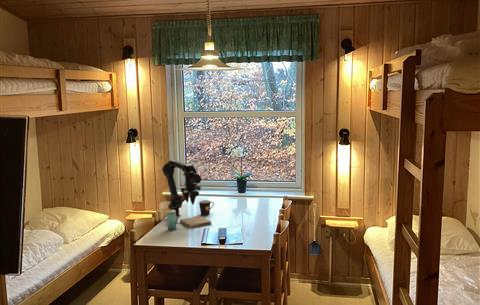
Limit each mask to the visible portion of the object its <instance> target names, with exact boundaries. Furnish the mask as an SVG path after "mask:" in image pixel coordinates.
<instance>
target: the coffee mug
mask: <svg viewBox="0 0 480 305" xmlns="http://www.w3.org/2000/svg"><path fill="white" fill-rule="evenodd" d="M198 204H199V210H200V216H202V217H205V216H209V215H211V214H210V211H211V209H212V208H213V207H214V205H215V203H214V201H211V200H207V199H204V200H199V201H198ZM211 204H212V206H211Z"/></svg>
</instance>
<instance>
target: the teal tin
mask: <svg viewBox="0 0 480 305" xmlns="http://www.w3.org/2000/svg"><path fill="white" fill-rule="evenodd" d="M165 213H166V225H167V226H166V227H167V231H169V232H170V231H171V232H174V231H177V224H176V210H171V209H167V210H166V212H165Z"/></svg>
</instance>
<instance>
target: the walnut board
mask: <svg viewBox="0 0 480 305" xmlns="http://www.w3.org/2000/svg"><path fill="white" fill-rule="evenodd" d="M179 223H181V224H182V225H184V226H185V227H188V228H189V229H194V228H200V227H205V226H210V225H212V221H211V220H209V219H207V218H205V217H204V216H203V215H198V216H193V217H186V218H180V220H179Z"/></svg>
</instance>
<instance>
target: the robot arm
mask: <svg viewBox="0 0 480 305" xmlns="http://www.w3.org/2000/svg"><path fill="white" fill-rule="evenodd" d="M176 168H177V169H180V170H181V171H182V172H183V173H182V174H183V176H184V183H183V184H184V186H185V187H181V188H180V192H181V194H182V195H180V194H178V189H177V186H176V181H175V178H174V174H175V169H176ZM161 170H162V171H161V172H163V175H164V176H165V177H166V180H167V184H168V189H169V192H170V199H169V201H170V202H169V204H168V205H167V208H168V210H176V216H177V218H179V216H180V217H181V216H182V215H180V208H182V207H183V199H182V196H183V197H184V199H185V201H186V203H189V199H190V202H191V204H192V205H195V201H196V198H197V197H198V196H200V191H202V190H201V189H202V186H200V185H198V184H200V183H201V181H202V177H201V176H200V175H199V173H198V172H197V170H196V168H195V166H194V164H193V163H184V162H181V161H178V160H177V159H172V160H169V161H168V162H167V163H165V164H164V165H163V166H162V169H161Z"/></svg>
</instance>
